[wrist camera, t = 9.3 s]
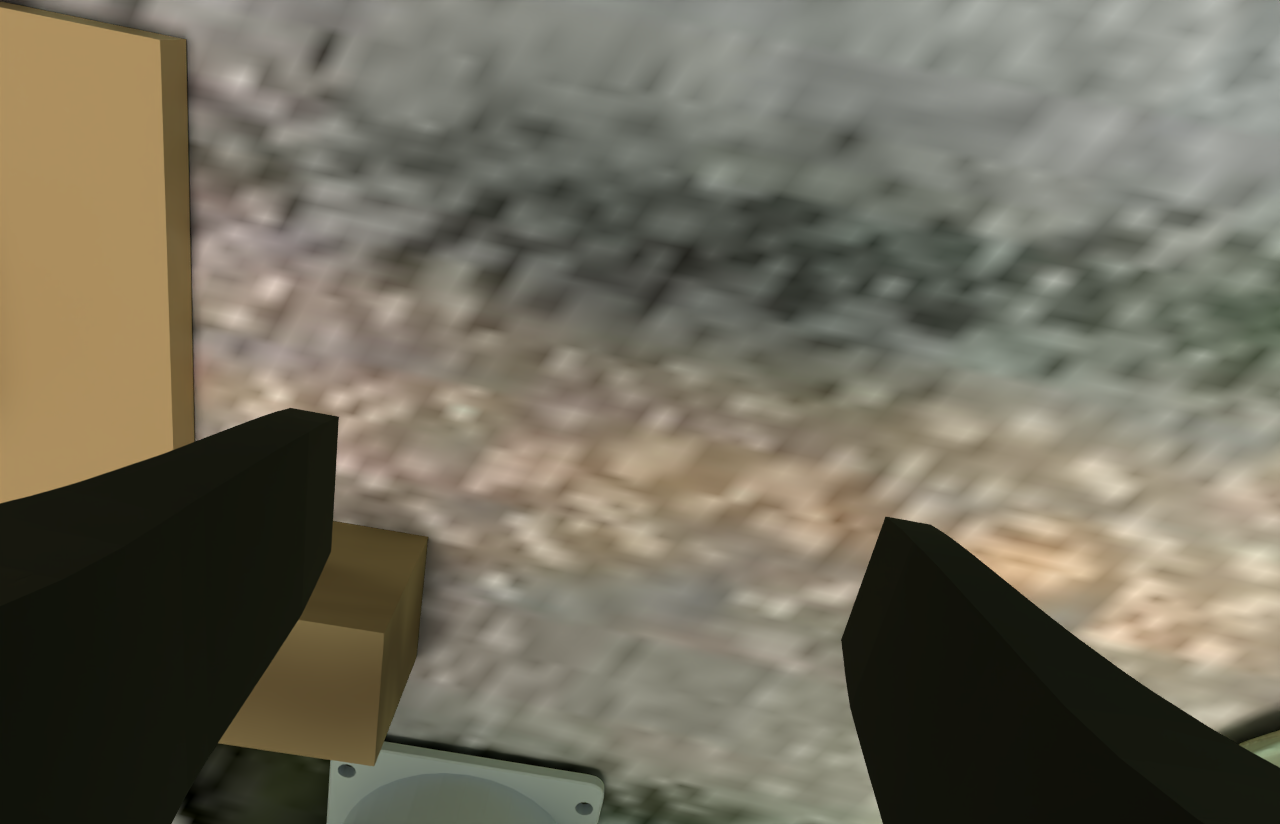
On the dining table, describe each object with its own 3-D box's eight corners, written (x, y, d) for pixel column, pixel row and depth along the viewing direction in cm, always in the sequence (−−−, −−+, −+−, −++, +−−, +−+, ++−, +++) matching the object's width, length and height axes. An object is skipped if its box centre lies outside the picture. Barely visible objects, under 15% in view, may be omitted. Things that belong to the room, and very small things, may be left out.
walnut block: (417, 654, 24) (374, 766, 21) (273, 632, 24) (204, 740, 20) (428, 535, 23) (384, 633, 19) (275, 509, 22) (200, 604, 19)
